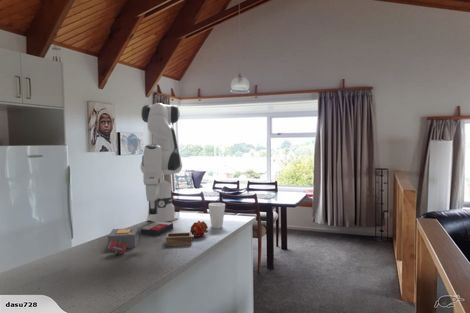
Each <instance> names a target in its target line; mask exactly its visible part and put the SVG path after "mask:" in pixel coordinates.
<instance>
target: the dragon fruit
mask: <svg viewBox="0 0 470 313" xmlns="http://www.w3.org/2000/svg"><path fill="white" fill-rule="evenodd" d="M208 228H209V226H208V225H207V223H206V222H205V221H204V220H202V221H200V220H197V221H196V222H194V223H193V224H192V225H191V226H190V232H191V236H193V238H198V237H201V238H202V237H204V236H205V234H206V233H208V232H209V230H208Z"/></svg>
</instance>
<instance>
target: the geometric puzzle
mask: <svg viewBox="0 0 470 313" xmlns="http://www.w3.org/2000/svg"><path fill="white" fill-rule="evenodd" d="M121 241H122V240H121V239H120V242H121ZM120 242H117V241H116V240H114V241H113V240H112V241H111V242H110V244H109V249H108V250H109V251H112V252H114V257H115V256H117V255H120V254H125V252H126V249H127V248H126V247H127V245H128V244H126V243H125V244H124V243H120Z"/></svg>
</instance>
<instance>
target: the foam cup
mask: <svg viewBox="0 0 470 313" xmlns="http://www.w3.org/2000/svg"><path fill="white" fill-rule="evenodd" d="M225 209H226V203H223V202H210V203H208V210H209V219H210V225H211V228H212V229H222V228H223V224H224V216H225Z"/></svg>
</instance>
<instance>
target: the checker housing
mask: <svg viewBox="0 0 470 313" xmlns="http://www.w3.org/2000/svg"><path fill="white" fill-rule="evenodd" d="M121 229H122V228H113V229H112V230H111V231H110V232H109V234H108V235H107V249H108V250H109V244H110V242H111V241H112V240H113V241H114V240H116V241H117V242H120V239H121V240H122V241H121V242H120V243H124V244H125V243H126V244H128V245H127V247H126V249H133V248H134V249H135V248H136V246H137V244H138V242H139V228H138V227H136V228H135V227H134V228H128V229H131V233H128V234H116V232H117V231H118V230H121Z"/></svg>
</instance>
